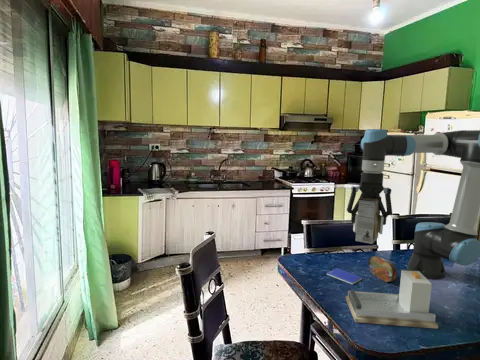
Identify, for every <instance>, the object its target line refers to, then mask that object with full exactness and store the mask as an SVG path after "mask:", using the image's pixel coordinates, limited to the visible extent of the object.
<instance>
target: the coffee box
mask: <svg viewBox="0 0 480 360" xmlns="http://www.w3.org/2000/svg"><path fill="white" fill-rule="evenodd" d="M358 199H359V200H357V201H358V211H357V213H356V214H357V227H356V232H355V242H360V243H364V244H370V245H374V243H375V242H376V241H377V240H378V239H379V232H378V228H379V216H380V215H381V211H380V207H379V199H377V198H373V197H366V198H360V197H359V198H358Z"/></svg>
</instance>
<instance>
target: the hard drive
mask: <svg viewBox="0 0 480 360" xmlns="http://www.w3.org/2000/svg"><path fill="white" fill-rule="evenodd" d="M326 275H327V276H330V277H332V278H334V279H338V280H340V281H342V282H345V283H347V284H350V285H355V284H357V282H360V281H361V280H363V277H362V276H359V275H356V274H354V273H351V272H348V271H346V270H343V269H340V268H338V267H336V268H334V269H332V270H329V271H328V272H327V273H326Z"/></svg>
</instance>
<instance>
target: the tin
mask: <svg viewBox="0 0 480 360" xmlns="http://www.w3.org/2000/svg"><path fill="white" fill-rule="evenodd" d="M367 266H368V271H369V272H370V273H371V274H372V276H374V277H376V278H378V279H380V280H381V281H383V282H385V283H389V282H394V281H395V280H396V279H397V274H398V273H397V272H398V271H397V268H396V265H395V264H394V263H392V262H391V261H389V260H387V259H385V258H383V257H381V256H379V255H377V256H374V255H372V256H371V257H369V259H368V262H367Z"/></svg>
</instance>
